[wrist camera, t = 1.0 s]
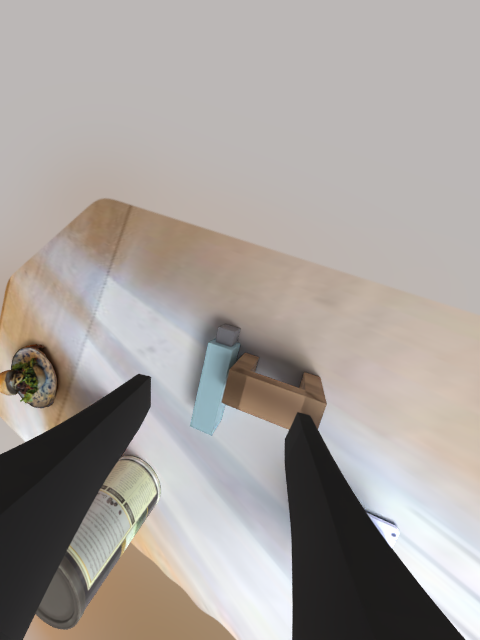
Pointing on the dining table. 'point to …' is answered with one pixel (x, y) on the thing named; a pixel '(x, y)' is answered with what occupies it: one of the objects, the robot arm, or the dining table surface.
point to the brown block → (272, 394)
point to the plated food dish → (30, 377)
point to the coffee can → (100, 540)
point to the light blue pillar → (215, 379)
